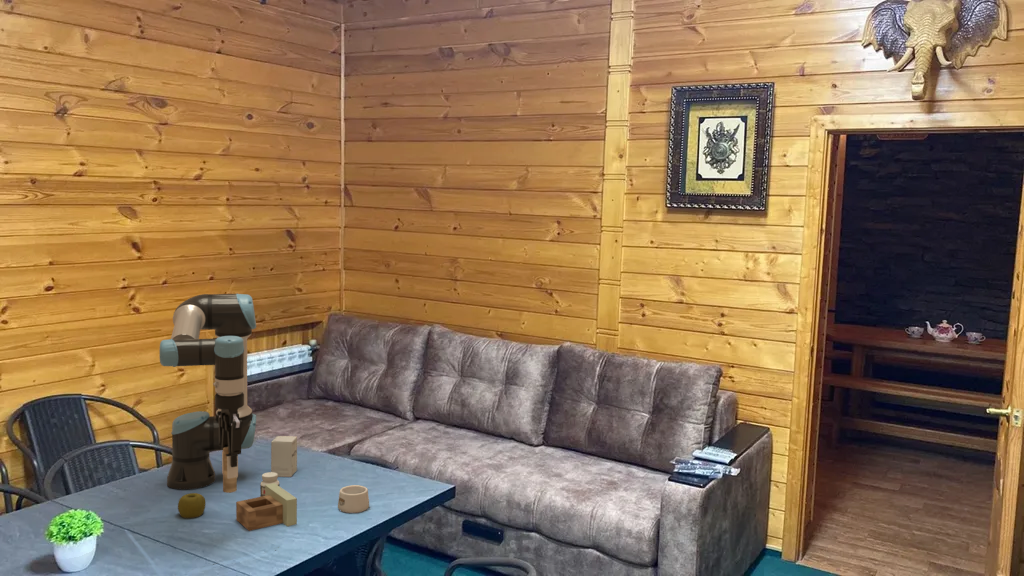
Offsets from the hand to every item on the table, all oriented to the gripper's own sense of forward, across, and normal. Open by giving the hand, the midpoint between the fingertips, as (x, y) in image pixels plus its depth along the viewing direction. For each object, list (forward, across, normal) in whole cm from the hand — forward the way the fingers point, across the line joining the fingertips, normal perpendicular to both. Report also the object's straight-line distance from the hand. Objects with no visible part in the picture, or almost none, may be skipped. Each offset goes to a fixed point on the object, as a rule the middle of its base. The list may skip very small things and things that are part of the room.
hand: (230, 475), depth 221 cm
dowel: (+4, 0, 0) cm, 4 cm away
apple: (+19, -22, -4) cm, 30 cm away
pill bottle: (+19, -20, +19) cm, 33 cm away
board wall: (+19, -5, +4) cm, 20 cm away
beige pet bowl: (+19, -4, +39) cm, 44 cm away
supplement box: (+20, -46, +34) cm, 61 cm away
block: (+18, -5, +10) cm, 21 cm away
